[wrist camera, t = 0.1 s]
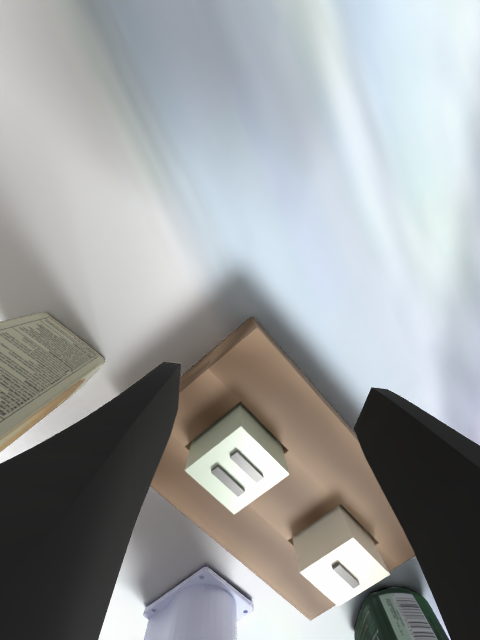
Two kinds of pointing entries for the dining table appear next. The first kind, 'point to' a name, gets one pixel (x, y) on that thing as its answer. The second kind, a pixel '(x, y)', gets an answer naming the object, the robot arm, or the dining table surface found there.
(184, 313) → the dining table surface
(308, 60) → the dining table surface
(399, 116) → the dining table surface
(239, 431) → the sage button
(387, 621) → the coffee jar
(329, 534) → the cream button
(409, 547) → the board
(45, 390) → the skincare box
